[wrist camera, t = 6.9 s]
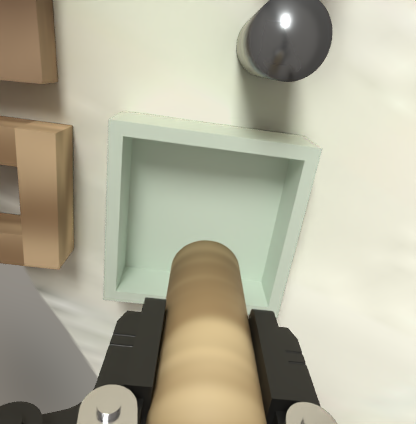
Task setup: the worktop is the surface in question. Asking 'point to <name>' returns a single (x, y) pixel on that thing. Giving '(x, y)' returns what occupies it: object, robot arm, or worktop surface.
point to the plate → (27, 41)
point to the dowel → (206, 344)
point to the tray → (202, 202)
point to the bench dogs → (285, 39)
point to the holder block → (38, 193)
